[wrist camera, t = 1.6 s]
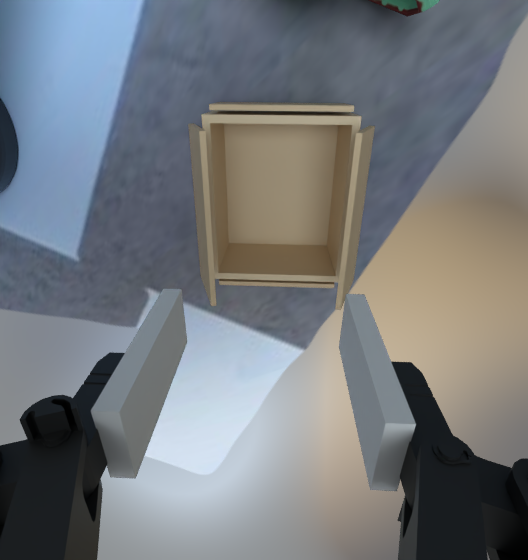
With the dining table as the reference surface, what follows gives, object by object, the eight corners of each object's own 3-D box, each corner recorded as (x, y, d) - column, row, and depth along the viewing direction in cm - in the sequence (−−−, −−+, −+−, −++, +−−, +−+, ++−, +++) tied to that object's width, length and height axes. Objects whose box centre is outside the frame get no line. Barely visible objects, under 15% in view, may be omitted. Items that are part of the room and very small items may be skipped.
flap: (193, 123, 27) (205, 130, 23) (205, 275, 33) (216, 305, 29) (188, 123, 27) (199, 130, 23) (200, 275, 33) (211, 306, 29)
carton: (224, 251, 42) (212, 285, 34) (217, 101, 34) (201, 104, 27) (330, 254, 41) (340, 288, 34) (346, 102, 34) (362, 105, 27)
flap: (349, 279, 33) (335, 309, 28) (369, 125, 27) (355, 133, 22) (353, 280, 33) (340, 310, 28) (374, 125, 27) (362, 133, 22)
